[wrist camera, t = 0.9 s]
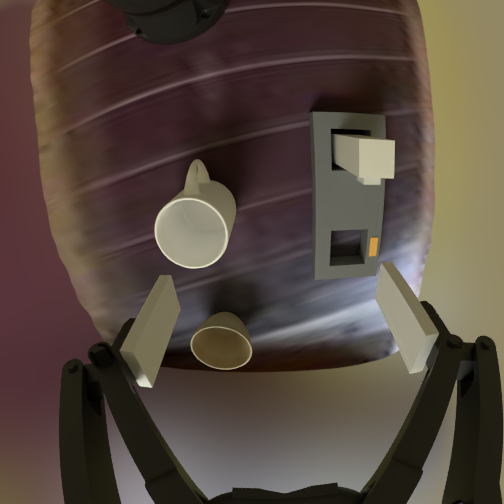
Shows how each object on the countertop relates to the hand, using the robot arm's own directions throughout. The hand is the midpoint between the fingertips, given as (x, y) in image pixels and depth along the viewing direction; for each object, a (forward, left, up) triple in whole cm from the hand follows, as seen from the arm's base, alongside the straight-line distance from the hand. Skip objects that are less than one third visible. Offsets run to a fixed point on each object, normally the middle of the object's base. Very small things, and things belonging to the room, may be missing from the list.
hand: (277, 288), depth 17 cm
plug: (-6, +11, -25) cm, 28 cm away
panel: (+1, +11, -25) cm, 27 cm away
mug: (0, -9, -25) cm, 27 cm away
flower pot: (+23, -9, -25) cm, 35 cm away
